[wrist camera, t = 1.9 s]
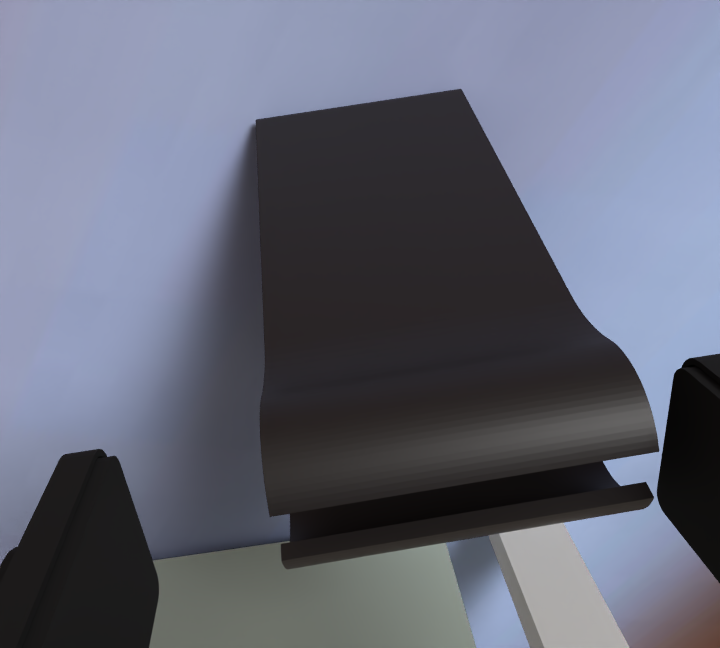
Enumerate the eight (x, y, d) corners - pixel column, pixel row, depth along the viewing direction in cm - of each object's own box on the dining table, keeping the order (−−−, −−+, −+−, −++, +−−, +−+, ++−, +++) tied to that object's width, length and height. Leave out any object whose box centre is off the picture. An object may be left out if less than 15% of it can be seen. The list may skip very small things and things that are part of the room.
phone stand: (472, 353, 22) (636, 662, 12) (306, 379, 22) (318, 717, 12) (459, 87, 18) (691, 190, 8) (256, 116, 18) (204, 263, 8)
